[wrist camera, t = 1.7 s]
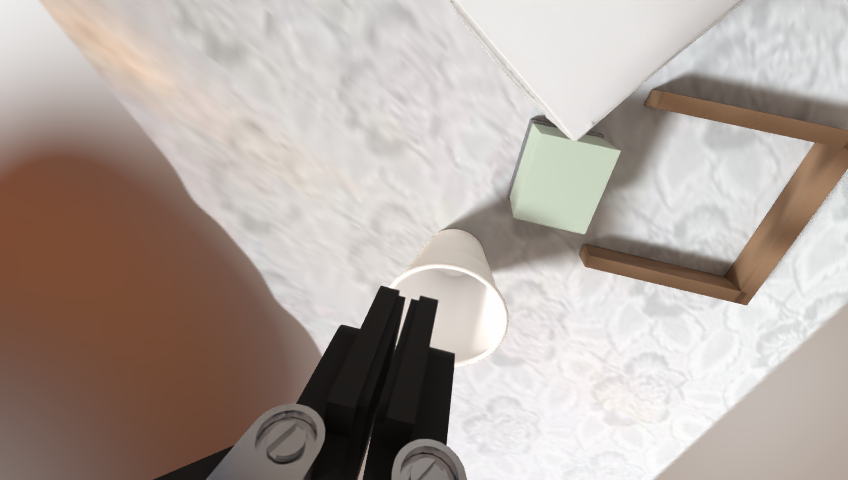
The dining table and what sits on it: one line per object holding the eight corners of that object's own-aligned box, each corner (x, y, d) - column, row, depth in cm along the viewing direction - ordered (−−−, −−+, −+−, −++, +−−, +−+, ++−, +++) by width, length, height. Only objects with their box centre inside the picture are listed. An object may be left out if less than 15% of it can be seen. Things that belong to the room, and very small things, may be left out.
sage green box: (530, 118, 32) (538, 129, 26) (601, 134, 31) (625, 148, 26) (506, 195, 35) (510, 219, 30) (571, 210, 35) (586, 237, 29)
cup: (522, 243, 37) (536, 309, 27) (467, 309, 41) (461, 385, 31) (438, 191, 36) (421, 239, 26) (391, 264, 40) (360, 329, 30)
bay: (651, 89, 29) (665, 91, 27) (841, 129, 29) (871, 135, 26) (578, 254, 36) (585, 266, 34) (730, 290, 36) (746, 305, 33)
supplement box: (556, -95, 25) (659, -322, 10) (635, 11, 27) (818, -52, 12) (456, 22, 29) (427, -23, 14) (531, 108, 31) (575, 148, 16)
